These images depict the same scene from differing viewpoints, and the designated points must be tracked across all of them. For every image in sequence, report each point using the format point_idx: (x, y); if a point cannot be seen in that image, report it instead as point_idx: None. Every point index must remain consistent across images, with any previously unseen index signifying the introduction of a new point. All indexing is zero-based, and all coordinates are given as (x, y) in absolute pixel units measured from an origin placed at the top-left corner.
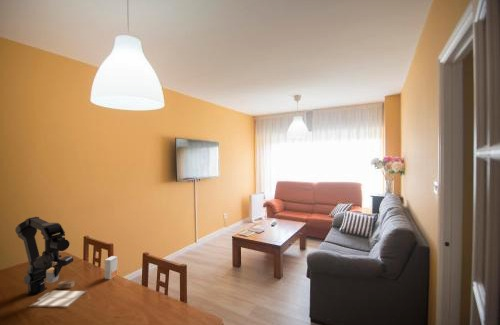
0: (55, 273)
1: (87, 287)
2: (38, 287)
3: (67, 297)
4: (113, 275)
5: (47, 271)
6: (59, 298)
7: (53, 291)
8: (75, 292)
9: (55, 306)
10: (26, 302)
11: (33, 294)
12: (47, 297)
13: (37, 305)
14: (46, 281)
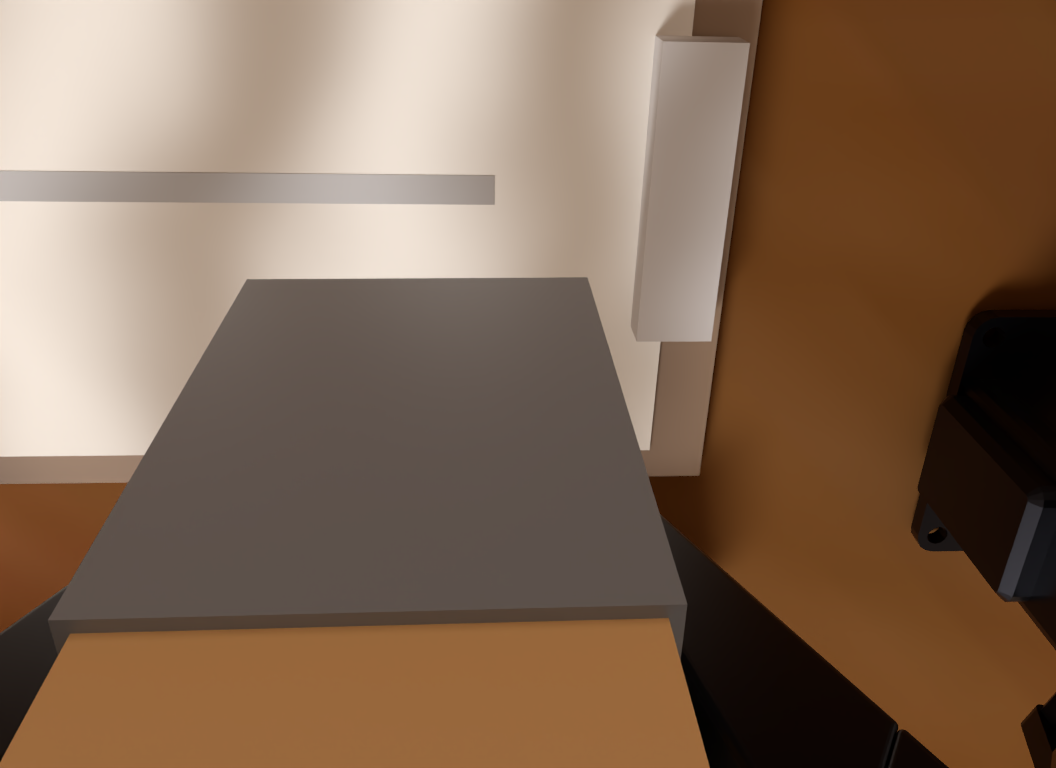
0: (13, 648)
1: (25, 603)
2: (1037, 439)
3: (50, 209)
4: None
5: (580, 711)
6: (224, 159)
7: (648, 424)
8: (62, 409)
9: None
10: (995, 5)
11: (1042, 311)
12: (589, 193)
13: None
14: (583, 300)
